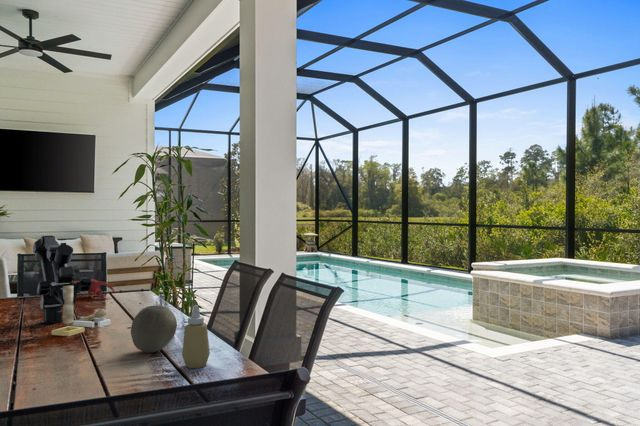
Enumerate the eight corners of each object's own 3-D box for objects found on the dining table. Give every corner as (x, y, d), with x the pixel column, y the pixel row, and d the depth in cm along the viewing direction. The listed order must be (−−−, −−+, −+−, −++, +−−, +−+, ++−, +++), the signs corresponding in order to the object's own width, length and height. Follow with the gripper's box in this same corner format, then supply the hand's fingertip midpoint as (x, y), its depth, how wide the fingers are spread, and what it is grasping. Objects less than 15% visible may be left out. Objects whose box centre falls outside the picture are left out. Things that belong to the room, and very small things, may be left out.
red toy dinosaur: (71, 304, 286) (58, 286, 276) (78, 291, 293) (67, 273, 283) (117, 305, 281) (106, 287, 272) (124, 292, 288) (114, 274, 278)
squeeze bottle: (184, 362, 156) (184, 303, 156) (211, 361, 157) (211, 302, 157) (179, 370, 148) (179, 308, 148) (207, 369, 149) (207, 307, 149)
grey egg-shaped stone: (151, 359, 159) (150, 311, 159) (121, 353, 166) (121, 307, 167) (185, 349, 171) (185, 304, 171) (156, 344, 178) (156, 301, 178)
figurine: (69, 331, 208) (107, 318, 213) (66, 320, 207) (104, 308, 213) (70, 329, 211) (108, 317, 216) (66, 318, 211) (105, 307, 216)
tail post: (60, 323, 195) (60, 286, 195) (68, 321, 198) (68, 285, 198) (68, 324, 194) (68, 287, 194) (75, 322, 197) (75, 285, 197)
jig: (36, 333, 196) (36, 328, 196) (81, 321, 217) (81, 316, 218) (69, 336, 191) (69, 330, 191) (112, 323, 213) (112, 318, 213)
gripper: (38, 260, 193) (45, 292, 185) (90, 257, 205) (99, 287, 196) (34, 278, 199) (40, 311, 191) (85, 275, 211) (93, 305, 203)
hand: (69, 303), depth 195 cm, fingers closed on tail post, 4 cm apart
